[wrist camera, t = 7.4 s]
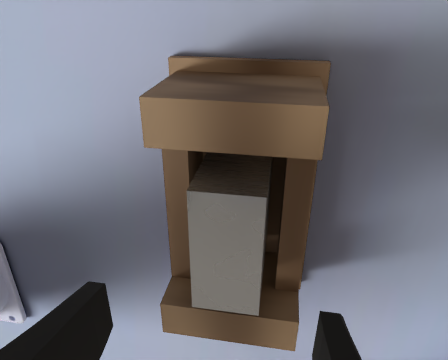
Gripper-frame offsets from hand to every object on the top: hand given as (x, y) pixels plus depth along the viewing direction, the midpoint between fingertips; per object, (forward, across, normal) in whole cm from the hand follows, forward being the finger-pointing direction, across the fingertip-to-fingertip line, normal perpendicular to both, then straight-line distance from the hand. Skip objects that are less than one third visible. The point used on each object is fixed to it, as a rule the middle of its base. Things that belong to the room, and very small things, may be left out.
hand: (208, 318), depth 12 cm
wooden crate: (+10, 0, 0) cm, 10 cm away
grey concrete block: (+9, 0, 0) cm, 9 cm away
